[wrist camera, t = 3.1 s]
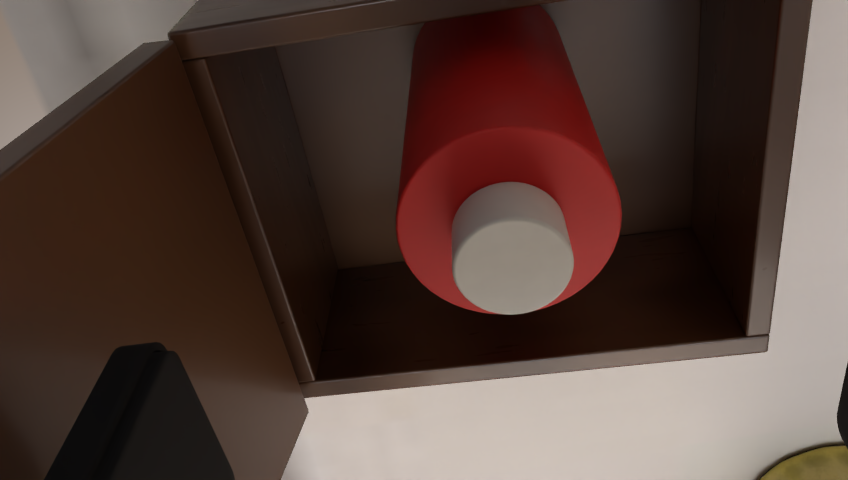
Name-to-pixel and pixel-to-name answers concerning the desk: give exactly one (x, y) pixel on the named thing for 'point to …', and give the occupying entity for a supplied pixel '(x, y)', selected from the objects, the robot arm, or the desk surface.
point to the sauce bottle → (502, 167)
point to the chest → (619, 137)
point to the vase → (813, 465)
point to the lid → (132, 270)
